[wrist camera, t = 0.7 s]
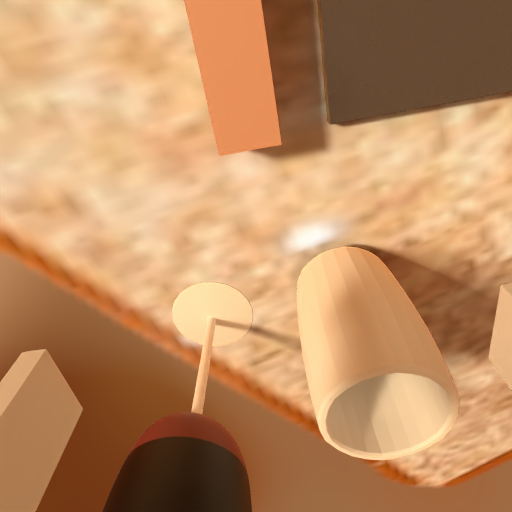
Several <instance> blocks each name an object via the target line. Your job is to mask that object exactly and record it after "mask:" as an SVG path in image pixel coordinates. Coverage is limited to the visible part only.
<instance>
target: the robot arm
mask: <svg viewBox="0 0 512 512" xmlns="http://www.w3.org/2000/svg"><path fill="white" fill-rule="evenodd" d="M488 358H489V360H490V361H491V363H492V364H493V365H494V367H495V368H496V370H497V371H498V372H499V374H500V375H501V376H502V378H503V379H504V381H505V382H506V383H507V385H508V386H509V387H510V389H511V390H512V283H509V284H502V285H501V287H500V293H499V299H498V305H497V310H496V316H495V322H494V328H493V333H492V339H491V345H490V351H489V357H488ZM82 410H83V408H82V406H81V405H80V403H79V402H78V400H77V398H76V397H75V395H74V394H73V392H72V390H71V389H70V387H69V385H68V384H67V382H66V381H65V379H64V377H63V376H62V374H61V372H60V371H59V369H58V368H57V366H56V365H55V363H54V361H53V359H52V358H51V356H50V355H49V353H48V351H47V350H46V349H43V350H35V351H28V352H22V354H21V355H20V356H19V358H18V359H17V360H16V362H15V363H14V365H13V366H12V367H11V368H10V370H9V371H8V372H7V374H6V375H5V377H4V378H3V379H2V381H1V382H0V512H35V511H36V509H37V507H38V505H39V502H40V500H41V498H42V496H43V494H44V492H45V490H46V487H47V485H48V483H49V481H50V479H51V476H52V475H53V472H54V470H55V468H56V466H57V464H58V462H59V460H60V457H61V455H62V453H63V451H64V449H65V447H66V444H67V442H68V440H69V438H70V436H71V434H72V432H73V429H74V427H75V425H76V423H77V421H78V419H79V416H80V414H81V412H82Z"/></svg>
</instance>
